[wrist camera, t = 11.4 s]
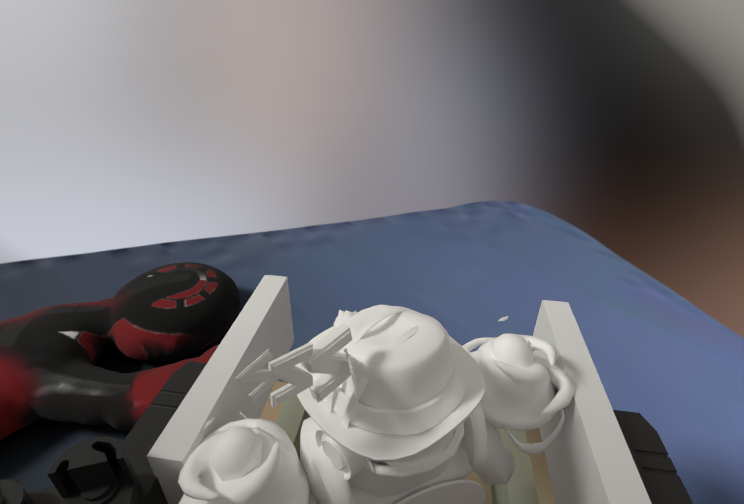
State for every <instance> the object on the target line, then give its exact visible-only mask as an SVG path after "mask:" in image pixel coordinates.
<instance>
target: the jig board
mask: <svg viewBox="0 0 744 504" xmlns="http://www.w3.org/2000/svg"><path fill="white" fill-rule="evenodd" d="M287 384H288V383H287V382H279V381H276V382H275V384H274V387H273V389H272V391H271V393H272V392H274V391H276V390H277V389H279V388H281V387H283V386H285V385H287ZM271 393H270V394H271ZM309 417H310V415H309V414H308V413H307V412H306V410H305V409H304V407H303V406H302V404H301V402H300V401H299V399H298V397H297V395H295V396H293V397H292V398H290V399H288V400H286V401H285V402H283V403H281V404H279V405H278V406H275V407H272V406H271V401H270V396H269V398H268V400H267V402H266V405H265V407H264V409H263V411H262V414H261V416H260V418H259V419H265V420H269V421H274V422H275V423H276V424H277V425H279V426H280V427H281V428H282V429H284V431H285V432H286V434H287V435H288V437H289V438H290V440H291V441H292V443H293V445H294V447H295V449H296V452H297V455H298V459H299V460H300V433H301V428H302V424H303V421H304V420H306V419H307V418H309ZM492 426H493V425H492ZM493 427H494V426H493ZM494 428H495V430H496V432H497V434H498V436H499V437H500V440H501V442H502V443H503V444H504V445H505V446H506V447H507V448H508V450H509V451H510V452H511V454H512V457H513V460H514V471H513V474H512V477H511V478H510V479H509V481H508V482H507V484H503V485H502V484H495V485H486V484H483V482H482V481H481V480H480V479H479V478H478V475H477V474H476V472H472V473H471V474H470V475H468V476H467V477H466V478H465V479H463V480H472V481H475V482H477V483H479V484H480V485H481V486H482V487H483V489H484V491H485V502H484V504H556V500H555V496H554V492H553V487H552V483H551V478H550V474H549V469H548V465H547V460H546V456H545V451H544V452H543V453H541V454H534V455H529V454H527V453H524V452H522V451H520V450H519V449H518V448H517V446H516V445H515V444H514V443H513V441H512V439H511V438H510V436H509V434H508V433H507V431H506V430H505V429H498V428H496V427H494ZM509 431H510V432H511V434H512V435H513V436H514V438H516V439H517V440H518V441H520V442H521V443H528V444H534V443H541V442H542V438H541V434H540V429H539V427H538V428H535V429H532V430H525V431H516V430H509ZM300 462H301V461H300Z"/></svg>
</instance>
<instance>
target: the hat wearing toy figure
mask: <svg viewBox="0 0 744 504" xmlns="http://www.w3.org/2000/svg"><path fill="white" fill-rule="evenodd" d="M506 319H509V318H508V317H503V318H501V319H500V320H498V321H504V320H506ZM480 345H482V346H481V347H480V348H479V349H478V351H475V352H472V353H470V351H471V350H472V349H474V348H476V347H477V346H480ZM535 350H540V351H543V352H544V353H545V354H546V355H547V357H548V360H547V359H545V358H542V357H539V356H537V355H534V354H533V351H535ZM557 355H558V354H557V350H556V348H555V347H554V346H553V345H552V344H551V343H549V342H547V341H545V340H542V339H540V338H538V337H534V336H528V335H517V334H502V335H500V336H499V337H497V338H478V339H474V340H472V341H470V342H468V343H466V344H465V345H463V346H461V345H460V344H459V343H457V342H456V341H455V340H454V339H452V338H451V337H450V336H449V335H448V333H447V331H446V330H445V329H444V328H443V327H442V325H441V324H440V322H438V321H437V320H435V319H434V318H432V317H430V316H427V315H424V314H421V313H418V312H416V311H414V310H411V309H408V308H405V307H399V306H388V305H376V306H373V307H370V308H367V309H364V310H362V311H360V312H356V311H354V312H350V311H347V310H346V311H345V312H343V311H341V310H339V314H338V316H337V318H336V320H335V323H334V326H333V327H331V328H329V329H327V330H325V331H323V332H322V333H320V334H319V335H317V336H316V337H314V338H313V339H312V340H311V341H309V342H308V343H307V344H305V345H303V346H301V347H299V348H297V349H295V350H293V351H291V352H289V353H287V354H285V355H283V356H281V357H279V358H277V359H275V360H272V361H270V362H269V363H268V367H269V369H264V370H259V369H260V368H261V367H263V366H264V365H265V364H266V363H267V362H268V361H269V360H270V359H272V358H273V356H272V354H271V352H270V351H269V349H268V350H266V351H265V352H264V353H263V354H262V355H261V356H260V357H258V358H257V359H256V360H255V361H254V362H253V363H252V364H250V365H249V366H248V367H247V368H246V369H245V370H244V371H242V372H241V373H240V374H239V375H238V376H237V377H236V378H235V379H236V380H237V381H238V382H239V383H240V384H250V383H258V382H263V383H261V384H260V385H259V386H258V387H257V388H256V389H255V390H254V391H253V392H252V393H250V394H249V397H250V398H251V399H252V400H253V402H255V401H256V400H257V399H258V398H259V397H260V396H261V395H262V394H263V393H264V392H266V391H267V390H268V389H269V388H270V387H271V386H272V385H273V384H274V383H275V382H276V381H278V380H279V379H280V380H283V381H285V382H287V383H288V384H287V385H285V386H283V387H281V388H279V389H277V390H276V391H274V392H272V393H271V394H270V401H271V406H272V407H275V406H278V405H279V404H281V403H283V402H285V401H286V400H288V399H290V398H292V397H293V396H295V395H297V397H298V399H299V401H300V402H301V404H302V406H303V407H304V409H305V410H306V412H307V413H308V414H309V415H310V417H309V418H307V419H306V420H304V421H303V424H302V428H301V433H300V460H299V459H298V455H297V452H296V449H295V447H294V445H293V443H292V441H291V440H290V438H289V437H288V435H287V434H286V432H285V431H284V429H282V428H281V427H280V426H279V425H277V424H276V423H275V422H274V421H269V420H265V419H247V418H246V416H245V415H244V414H243V413H241V412H240V413H241V415H242V416H243V417H244V418H246V419H243V420H239V421H234V422H230V423H228V424H226V425H224V426H222V427H221V428H219V429H217V430H215V431H214V432H213V433H211V434H210V435H209V436H207V437H206V438H204V439H203V441H202V442H201V444H200V445H199V446H198V447H197V448H196V449H195V450H194V452H193V453H192V454H191V455H190V457H189V458H188V460H187V462H186V463H185V465H184V466H183V468H182V470H181V471H180V475H179V480H178V483H179V485H180V487H181V489H182V490H183V492H184V495H183V497H182V498H181V500H180V502H179V504H484V502H485V491H484V489H483V487H482V486H481V485H480V484H479V483H477V482H475V481H472V480H463V479H465V478H466V477H467V476H468V475H470V474H471V473H472V472H476V474H477V475H478V478H479V479H480V480H481V481H482V482H483V484H486V485H495V484H502V485H503V484H507V482H508V481H509V479H510V478H511V477H512V474H513V471H514V460H513V457H512V454H511V452H510V451H509V450H508V448H507V447H506V446H505V445H504V444H503V443H502V442H501V440H500V437H499V436H498V434H497V432H496V430H495V428H494V427H496V428H498V429H505V430H506V431H507V433H508V434H509V436H510V438H511V439H512V441H513V443H514V444H515V445H516V446H517V448H518V449H519V450H520V451H522V452H524V453H527V454H529V455H534V454H541V453H543V452H544V451H545V450H547V449H548V448H549V447H550V446H551V445H552V444H553V442H554V441H555V439H556V438H557V437H558V435H559V434H560V432H561V429H562V427H563V425H564V422H565V415H564V411H563V408H564V407H566V406H568V405H569V404H570V402H571V400H572V398H573V395H574V393H575V390H576V387H575V386H574V384H573V383H572V381H571V379H570V378H569V377H568V376H567V374H566V373H565V372H564V371H563V370H562V369H560V368H559V367H557V366H556V365H555V363H556V359H557ZM558 410H560V413H561V420H560V422H559V424H558V426H557V428H556V429H555V430H554V432H553V433H552V434H551V435H550V436H549V437H548V438H546V439H545V440H544V441H542V442H541V443H534V444H528V443H521V442H520V441H518V440H517V439H516V438H514V436H513V435H512V434H511V432H510V431H509V430H516V431H525V430H532V429H535V428H538V427H540V426H541V425H543V424H545V423H546V422H548V421H550V420H551V419H552V417H553V416H554V415H555V414H556V413H557V411H558ZM214 418H215V417H214ZM214 418H212V419H211V420H210V421H208V422H207V423H206V425H205V427H207V426H208V425H209V424H210V423H211V422H212V421H213V420H214ZM492 425H493V426H494V427H493V426H492ZM205 427H204V428H205ZM300 461H301V462H300Z"/></svg>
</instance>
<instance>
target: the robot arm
mask: <svg viewBox="0 0 744 504" xmlns="http://www.w3.org/2000/svg"><path fill="white" fill-rule="evenodd" d="M533 336H534V337H538V338H540V339H542V340H545V341H547V342H549V343H551V344H552V345H553V346H554V347H555V348H556V350H557V354H558V355H557V359H556V363H555V365H556V366H557V367H559V368H560V369H562V370H563V371H564V372H565V373H566V374H567V376H568V377H569V378H570V379H571V381H572V383H573V384H574V386H575V387H576V390H575V393H574V395H573V398H572V400H571V402H570V404H569V405H568V406H566V407H564V408H563V411H564V415H565V422H564V425H563V427H562V429H561V432H560V434H559V435H558V437H557V438H556V439H555V441H554V442H553V444H552V445H551V446H550V447H549V448H548V449H547V450H545V456H546V460H547V465H548V469H549V474H550V478H551V483H552V487H553V492H554V496H555V500H556V504H693V503H692V501H691V499H690V497H689V495H688V493H687V491H686V489H685V487H684V485H683V483H682V481H681V479H680V477H679V476H677V474H676V472H677V471H676V469H675V467H674V465H673V463H672V461H671V459H670V458H668V453H667V451H666V449H665V447H664V445H663V443H662V441H661V439H660V437H659V435H658V433H657V431H656V430H655V429H654V428H653V427H652V426H651V425H650V424H649V423H648V422H647V421H646V420H645V419H644V418H643V417H642V415H641V414H640V413H634V412H626V411H617V410H613V409H612V407H611V405H610V402H609V400H608V397H607V395H606V392H605V390H604V388H603V385H602V383H601V380H600V378H599V376H598V373H597V371H596V368H595V366H594V363H593V361H592V359H591V356H590V354H589V351H588V349H587V347H586V344H585V342H584V339H583V337H582V335H581V332H580V330H579V327H578V325H577V322H576V320H575V318H574V315H573V313H572V310H571V308H570V306H569V303H568V302H558V301H547V300H542V303H541V307H540V311H539V314H538V318H537V322H536V326H535V329H534V333H533ZM293 341H294V335H293V325H292V316H291V307H290V298H289V289H288V280H287V277H282V276H271V275H265V276H264V277H263V279H262V280H261V282H260V283H259V285H258V286H257V288H256V289H255V291H254V292H253V294H252V296H251V297H250V299H249V300H248V302H247V303H246V305H245V306H244V308H243V309H242V311H241V312H240V314H239V315H238V317H237V318H236V320H235V322H234V323H233V325H232V326H231V328H230V329H229V331H228V332H227V334H226V335H225V337H224V338H223V340H222V341H221V343H220V344H219V346H218V348H217V349H216V351H215V352H214V354H213V355H212V357H211V358H210V360H209V361H208V363H201V362H193V361H188V362H187V363H186V364H185V365H183V366H182V367H181V368H179V369H178V370H177V371H175V372H174V373H173V374H172V375H171V376H170V378H169V379H168V380H167V382H166V383H165V384H164V386H163V387H162V388H161V390H160V393H158V394H157V395H156V397H155V398H154V399H153V401H152V402H151V406H150V407H149V406H148V408H147V409H146V410H145V412H144V413H143V415H142V416H141V417H140V419H139V420H138V421H137V423H136V424H135V426H134V427H133V428H132V430H131V431H130V432H129V434H128V435H127V436H126V438H125V439H124V441H123V442H122V443H120V442H119V440H118V439H115V438H112V437H109V436H101V437H93V438H90V439H87V440H85V441H82V442H80V443H78V444H76V445H75V446H73V447H71V448H70V449H68V450H67V451H66V452H64V453H63V454H62V455H61V456H60V457H59V458H58V459H57V460H56V461H55V462H54V464H53V466H52V467H51V469H50V471H49V472H48V476H49V478H50V479H51V481H52V482H53V484H54V485H55V487H53V488H47V489H41V490H36V491H30V492H26V491H25V490H24V488H23V487H22V486H21V485H20V484H19V483H18V481H14V480H9V479H4V480H0V504H179V502H180V500H181V498H182V497H183V495H184V492H183V490H182V489H181V487H180V485H179V483H178V480H179V475H180V471H181V470H182V468H183V466H184V465H185V463H186V462H187V460H188V458H189V457H190V455H191V454H192V453H193V452H194V450H195V449H196V448H197V447H198V446H199V445H200V444H201V442H202V441H203V439H204V438H206V437H207V436H209V435H210V434H211V433H213V432H214V431H215V430H217V429H219V428H221V427H222V426H224V425H226V424H228V423H230V422H234V421H239V420H243V419H246V418H247V419H259V418H260V416H261V414H262V411H263V409H264V407H265V405H266V402H267V400H268V398H269V396H270V393H271V391H272V389H273V387H274V384H275V383H274V384H273V385H272V386H271V387H270V388H269V389H268V390H267V391H266V392H264V393H263V394H262V395H261V396H260V397H259V398H258V399H257V400H256V401H255V402H253V400H252V399H251V398H250V397H249V394H250V393H252V392H253V391H254V390H255V389H256V388H257V387H258V386H259V385H260V384H261V383H263V382H258V383H250V384H240V383H239V382H238V381H237V380H236V379H235V378H236V377H237V376H238V375H239V374H240V373H241V372H242V371H244V370H245V369H246V368H247V367H248V366H249V365H250V364H252V363H253V362H254V361H255V360H256V359H257V358H258V357H260V356H261V355H262V354H263V353H264V352H265V351H266V350H268V349H269V351H270V352H271V354H272V356H273V358H272V359H270V360H269V361H268V362H267V363H266V364H265V365H264V366H263V367H261V368H260V369H259V370H264V369H269V367H268V363H269V362H270V361H272V360H275V359H277V358H279V357H281V356H283V355H285V354H287V353H289V350H290V348H291V346H292V344H293ZM533 354H534V355H537V356H539V357H542V358H545V359H547V360H548V357H547V355H546V354H545V353H544V352H543V351H540V350H535V351H533ZM240 412H241V413H243V414H244V415H245V416H246V418H244V417H243V416H242V415H241V413H240ZM214 417H215V418H214ZM212 418H214V420H213V421H212V422H211V423H210V424H209V425H208V426H207V427H205V425H206V423H207V422H208V421H210V420H211V419H212ZM560 420H561V413H560V410H558V411H557V413H556V414H555V415H554V416H553V417H552V419H551V420H550V421H548V422H546V423H545V424H543V425H541V426H540V427H539V429H540V434H541V438H542V441H544V440H545V439H546V438H548V437H549V436H550V435H551V434H552V433H553V432H554V430H555V429H556V428H557V426H558V424H559V422H560ZM204 427H205V428H204Z"/></svg>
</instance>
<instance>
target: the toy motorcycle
mask: <svg viewBox="0 0 744 504" xmlns="http://www.w3.org/2000/svg"><path fill="white" fill-rule="evenodd" d="M239 303H240V301H239V292H238V289H237V286H236V284H235V283H234V281H233V280H232V279H231V278H230V277H229V276H228V275H226V274H225V273H224V272H222V271H221V270H219V269H217V268H215V267H212V266H209V265H206V264H201V263H193V262H185V263H175V264H169V265H165V266H161V267H158V268H155V269H152V270H150V271H148V272H145V273H143V274H142V275H140V276H138V277H136V278H135V279H133V280H131V281H130V282H129V283H127V284H126V285H125V286H124V287H123V288H121V289H120V290H119V291H118V292H117V294H116V295H115V296H114V297H113V298H111V299H107V300H101V301H96V302H88V303H74V304H63V305H55V306H50V307H46V308H42V309H39V310H36V311H33V312H31V313H28V314H26V315H23V316H20V317H16V318H13V319H9V320H5V321H1V322H0V440H2V439H4V438H5V437H7V436H9V435H10V434H12V433H14V432H15V431H17V430H19V429H21V428H22V427H24V426H26V425H29V424H31V423H33V422H35V421H37V420H40V419H42V418H47V419H50V420H55V421H61V422H74V423H81V424H88V425H99V424H109V425H111V426H112V427H114V428H116V429H118V430H132V428H133V427H134V426H135V424H136V423H137V421H138V420H139V419H140V417H141V416H142V415H143V413H144V412H145V410H146V409H147V408H148V406H149V407H150V406H151V402H152V401H153V399H154V398H155V397H156V395H157V394H158V393H160V390H161V388H162V387H163V386H164V384H165V383H166V382H167V380H168V379H169V378H170V376H171V375H172V374H173V373H174V372H175V371H177V370H178V369H179V368H181V367H182V366H183V365H185V364H186V363H187V362H188V361H193V362H201V363H208V361H209V360H210V358H211V357H212V355H213V354H214V352H215V351H216V349H217V348H218V346H219V345H216V346H214V347H212V348H211V349H209V350H208V351H206V352H205V353H204V354H203V355H201V356H200V357H197V358H190V359H186V360H182V361H179V362H177V363H174V364H169V365H165V366H162V367H158V368H153V369H148V370H144V371H139V372H134V373H125V374H122V373H118V372H115V371H110V370H106V369H103V368H101V367H98V366H95V364H96V362H97V361H98V359H99V357H100V356H101V354H102V352H104V351H105V350H106V349H108V348H110V347H118V349H119V350H120V351H121V352H122V353H123V354H125V355H126V356H128V357H130V358H133V359H138V360H144V361H167V360H173V359H177V358H181V357H184V356H187V355H190V354H192V353H194V352H197V351H199V350H201V349H203V348H204V347H206V346H208V345H209V344H211V343H213V342H214V341H215V340H217V339H218V338H219V337H220V336H221V335H222V334H223V333H224V332H225V331H226V330H227V329H228V328H229V326H230V325H231V323H232V322H233V320H234V318H235V315H236V313H237V311H238V308H239Z"/></svg>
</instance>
